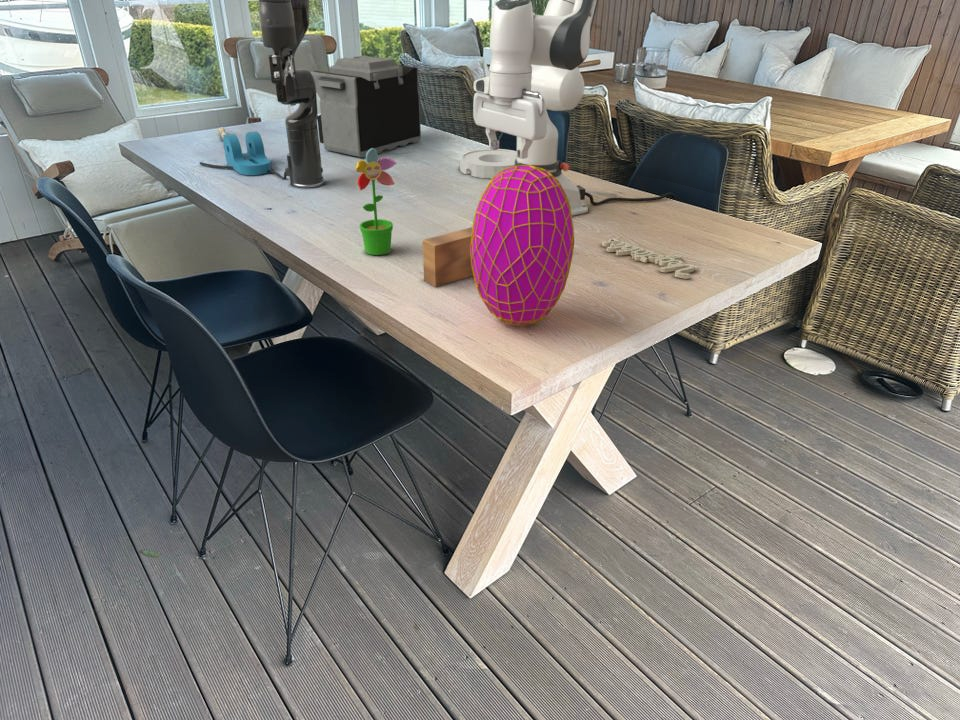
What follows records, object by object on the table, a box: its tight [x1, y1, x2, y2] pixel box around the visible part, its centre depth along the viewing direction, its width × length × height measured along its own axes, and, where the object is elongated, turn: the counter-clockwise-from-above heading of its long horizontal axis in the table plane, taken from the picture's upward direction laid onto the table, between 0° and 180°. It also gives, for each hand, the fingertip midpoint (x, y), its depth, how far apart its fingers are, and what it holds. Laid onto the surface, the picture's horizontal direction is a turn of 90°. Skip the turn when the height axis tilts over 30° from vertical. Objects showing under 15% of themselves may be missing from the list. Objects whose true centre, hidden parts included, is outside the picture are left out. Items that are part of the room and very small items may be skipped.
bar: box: [422, 226, 474, 288], centre depth 155 cm, size 25×4×10 cm, turn 129°
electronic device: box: [310, 55, 422, 159], centre depth 250 cm, size 37×22×30 cm, turn 144°
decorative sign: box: [601, 237, 696, 280], centre depth 164 cm, size 26×1×10 cm
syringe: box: [218, 127, 229, 142], centre depth 264 cm, size 25×4×3 cm, turn 21°
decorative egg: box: [470, 165, 576, 326], centre depth 128 cm, size 19×19×30 cm
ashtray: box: [459, 148, 517, 180], centre depth 231 cm, size 23×23×4 cm
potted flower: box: [355, 148, 397, 256], centre depth 160 cm, size 9×8×25 cm
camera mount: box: [222, 131, 272, 176], centre depth 226 cm, size 18×10×10 cm, turn 35°
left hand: (286, 98), depth 165 cm, fingers open, 8 cm apart
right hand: (508, 153), depth 150 cm, fingers open, 8 cm apart
